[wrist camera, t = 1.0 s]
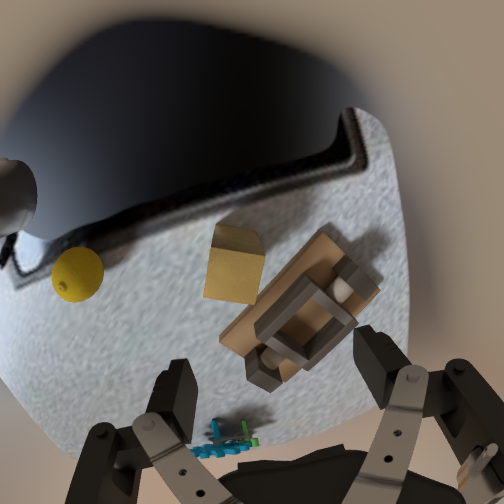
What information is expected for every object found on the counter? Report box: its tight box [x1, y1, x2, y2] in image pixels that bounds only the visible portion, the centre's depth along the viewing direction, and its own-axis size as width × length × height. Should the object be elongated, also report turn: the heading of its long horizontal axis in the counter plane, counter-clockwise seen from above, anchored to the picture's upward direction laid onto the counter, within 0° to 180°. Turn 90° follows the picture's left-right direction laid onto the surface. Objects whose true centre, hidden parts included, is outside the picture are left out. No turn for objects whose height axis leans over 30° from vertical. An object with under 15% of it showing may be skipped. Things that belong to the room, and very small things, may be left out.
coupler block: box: [203, 224, 266, 305], centre depth 26 cm, size 4×4×9 cm
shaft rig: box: [219, 230, 381, 393], centre depth 31 cm, size 11×17×6 cm, turn 139°
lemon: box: [52, 247, 104, 302], centre depth 26 cm, size 6×6×8 cm
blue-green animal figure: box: [189, 420, 259, 459], centre depth 37 cm, size 11×6×10 cm
